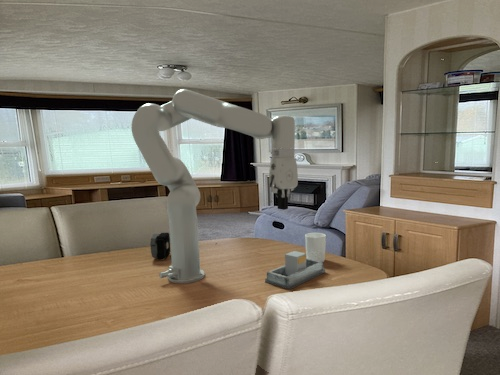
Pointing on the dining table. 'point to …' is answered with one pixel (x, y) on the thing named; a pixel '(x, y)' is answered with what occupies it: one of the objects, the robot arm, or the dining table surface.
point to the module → (294, 262)
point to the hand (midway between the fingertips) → (282, 208)
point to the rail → (295, 275)
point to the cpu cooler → (160, 245)
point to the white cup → (315, 246)
